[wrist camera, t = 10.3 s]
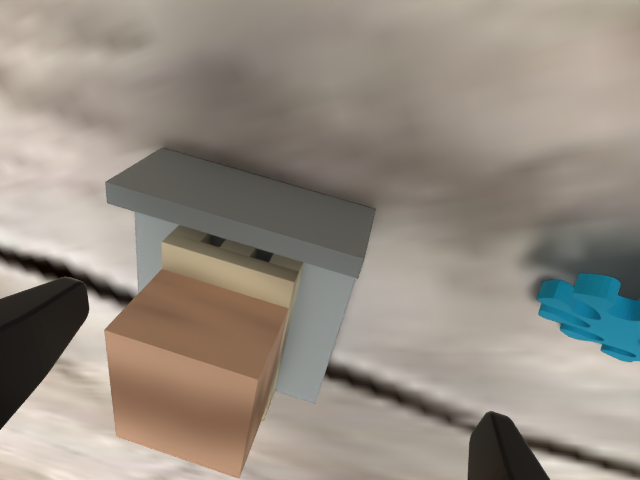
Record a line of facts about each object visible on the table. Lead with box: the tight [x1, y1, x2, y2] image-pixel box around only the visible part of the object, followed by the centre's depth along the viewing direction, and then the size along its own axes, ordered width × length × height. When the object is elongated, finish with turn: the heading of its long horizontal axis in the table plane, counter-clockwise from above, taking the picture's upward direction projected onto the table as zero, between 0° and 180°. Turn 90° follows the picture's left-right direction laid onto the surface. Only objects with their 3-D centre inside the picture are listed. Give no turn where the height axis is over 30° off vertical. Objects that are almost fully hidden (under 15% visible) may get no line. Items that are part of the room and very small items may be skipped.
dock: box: [105, 148, 376, 404], centre depth 22 cm, size 12×11×4 cm
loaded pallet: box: [104, 225, 304, 478], centre depth 20 cm, size 10×6×6 cm, turn 168°
